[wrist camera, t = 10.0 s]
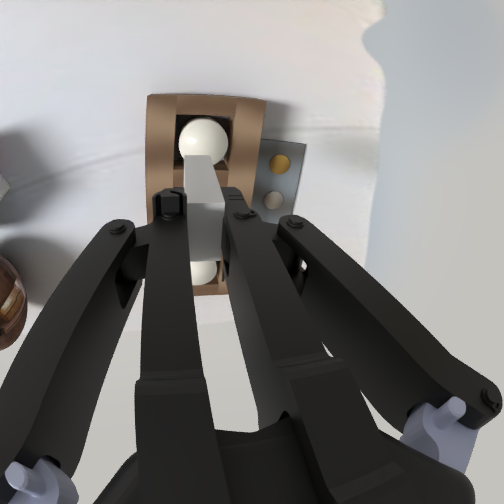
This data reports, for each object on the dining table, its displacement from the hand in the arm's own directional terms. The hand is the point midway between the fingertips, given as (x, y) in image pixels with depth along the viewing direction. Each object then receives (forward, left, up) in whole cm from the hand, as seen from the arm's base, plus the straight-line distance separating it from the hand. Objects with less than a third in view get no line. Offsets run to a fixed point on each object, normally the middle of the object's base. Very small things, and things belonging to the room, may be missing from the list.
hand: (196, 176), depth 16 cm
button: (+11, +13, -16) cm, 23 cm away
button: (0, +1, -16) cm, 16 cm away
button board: (+3, +10, -17) cm, 20 cm away
